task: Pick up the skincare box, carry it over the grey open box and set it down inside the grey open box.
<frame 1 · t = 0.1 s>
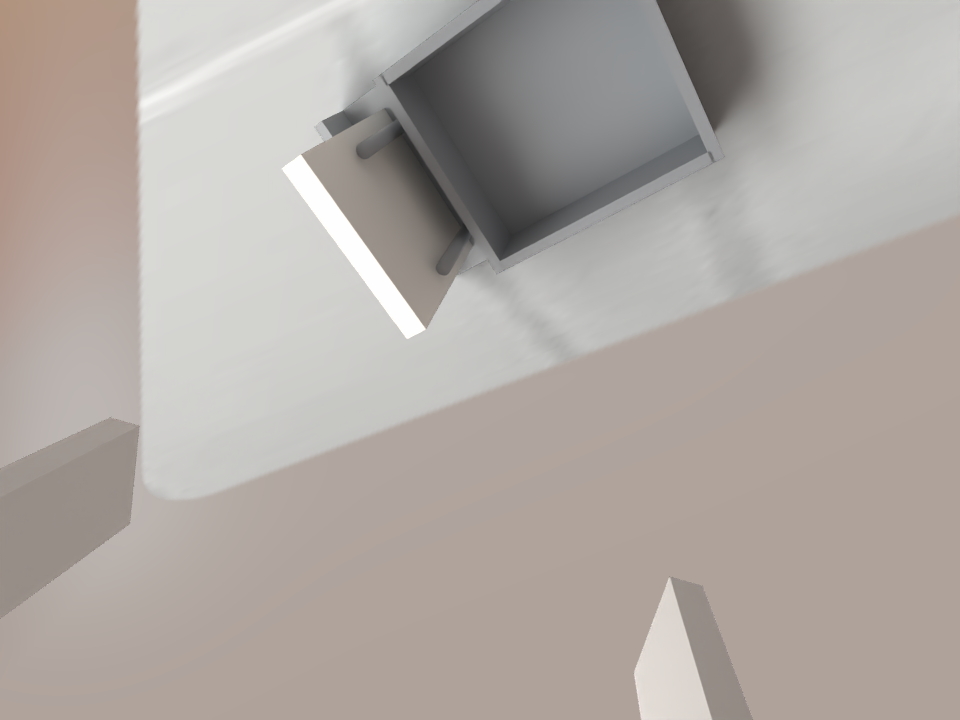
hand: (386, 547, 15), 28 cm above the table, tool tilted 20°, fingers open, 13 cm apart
grey open box: (518, 123, 36), on the table
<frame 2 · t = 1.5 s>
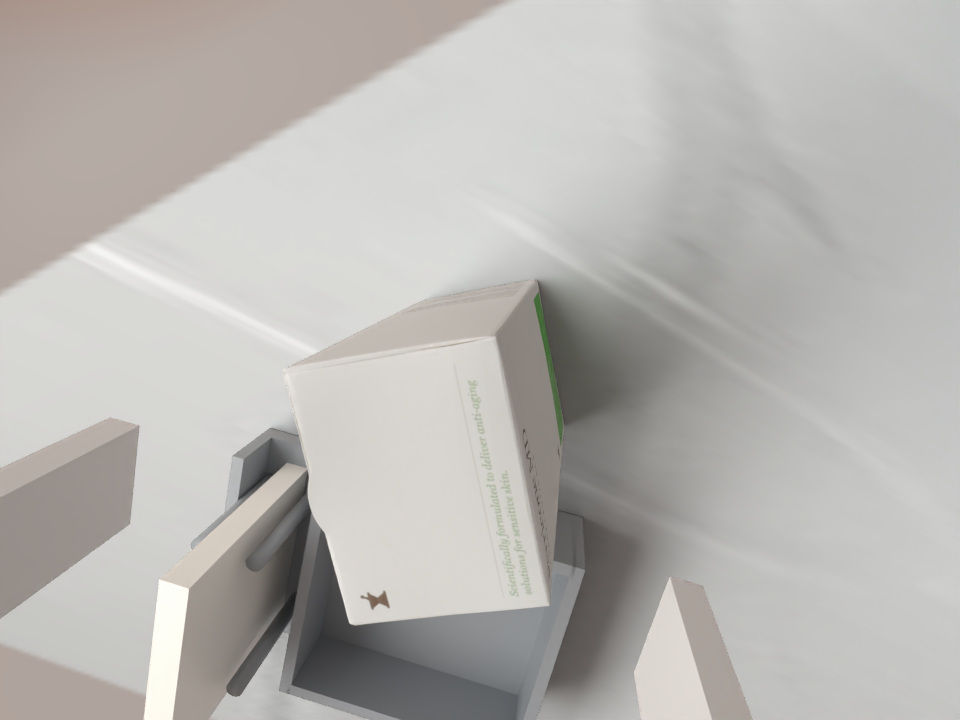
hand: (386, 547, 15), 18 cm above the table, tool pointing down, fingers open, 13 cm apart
grey open box: (401, 564, 35), on the table
skincare box: (489, 361, 32), on the table
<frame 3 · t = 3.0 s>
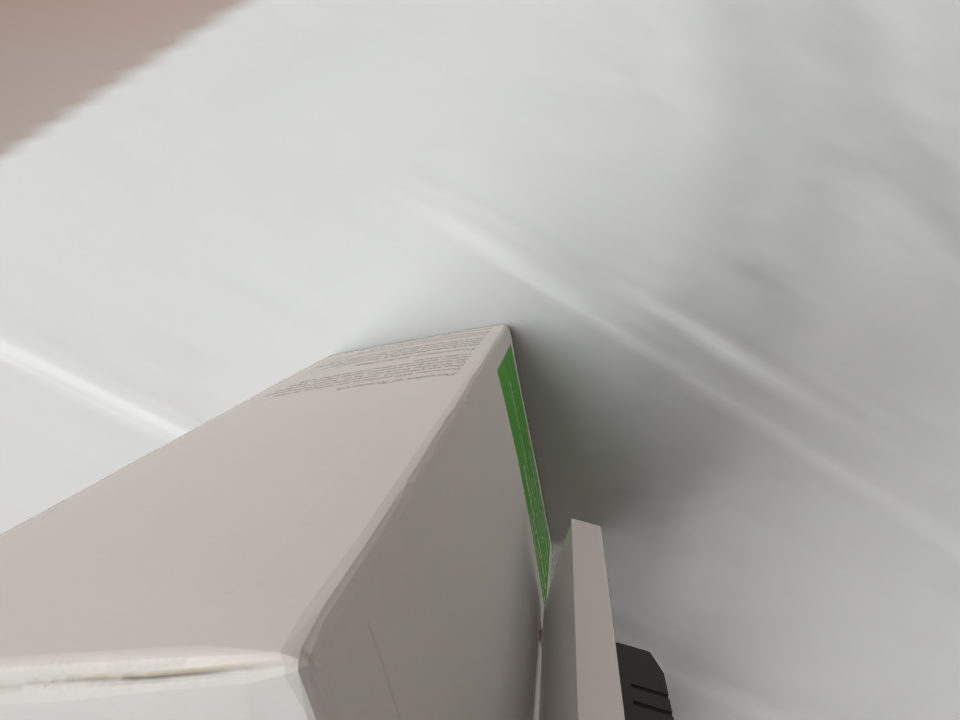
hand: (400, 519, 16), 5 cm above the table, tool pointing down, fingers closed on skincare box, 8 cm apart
skincare box: (436, 446, 21), on the table, touching gripper
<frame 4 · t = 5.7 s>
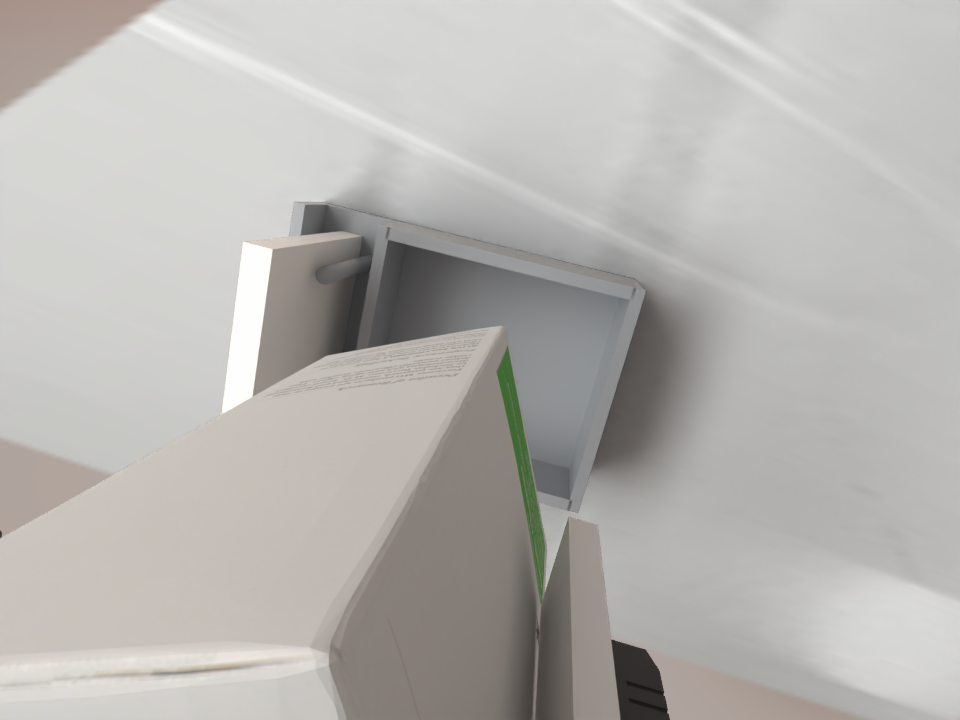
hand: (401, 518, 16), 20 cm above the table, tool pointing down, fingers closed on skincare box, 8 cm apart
grey open box: (453, 341, 36), on the table
skincare box: (432, 446, 21), point 15 cm above the table, touching gripper
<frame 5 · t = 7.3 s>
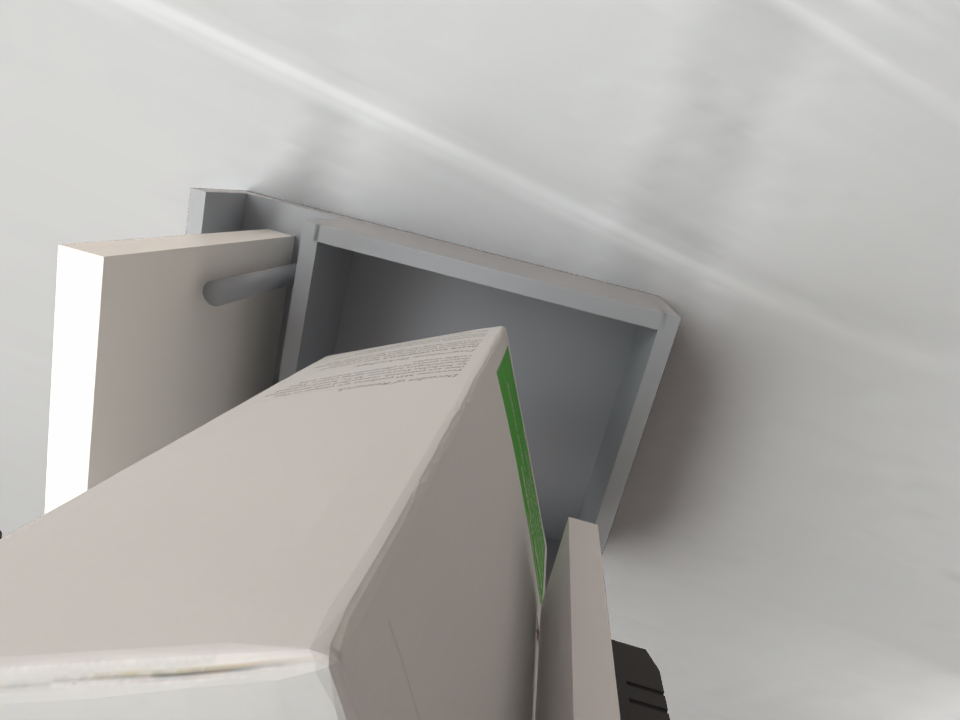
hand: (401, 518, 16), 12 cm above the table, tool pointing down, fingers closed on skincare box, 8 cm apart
grey open box: (417, 375, 27), on the table
skincare box: (432, 447, 21), point 6 cm above the table, touching gripper
when the fingers open (7 cm above the table, at t = 8.6 s): skincare box drops 1 cm, resting on grey open box.
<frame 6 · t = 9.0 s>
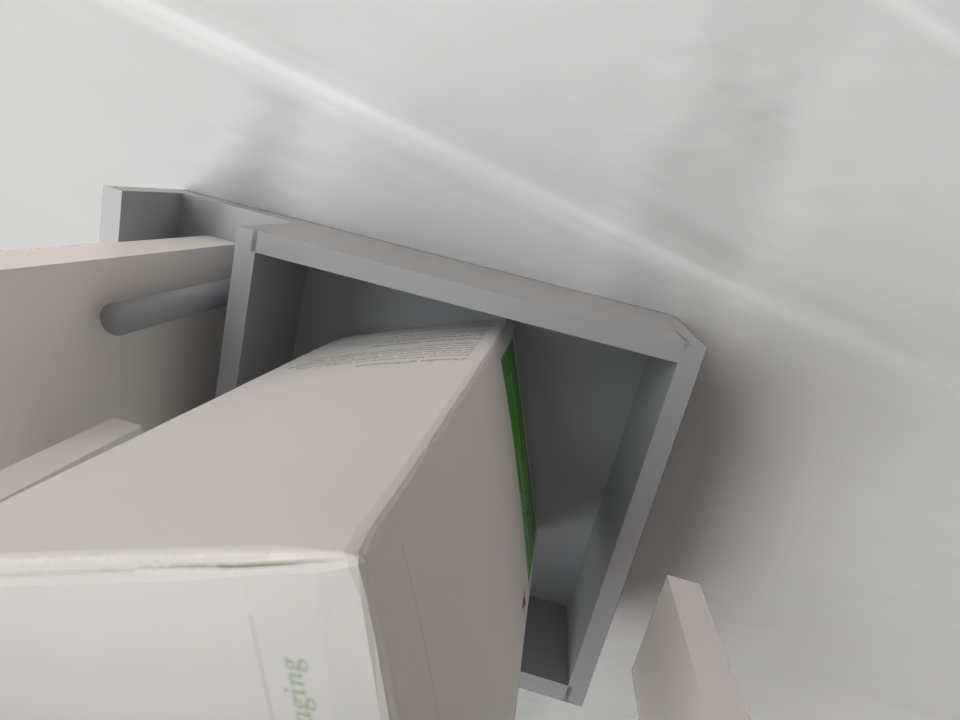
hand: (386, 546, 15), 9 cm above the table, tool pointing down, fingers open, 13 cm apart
grey open box: (388, 407, 23), on the table
skincare box: (436, 428, 22), point 1 cm above the table, touching grey open box
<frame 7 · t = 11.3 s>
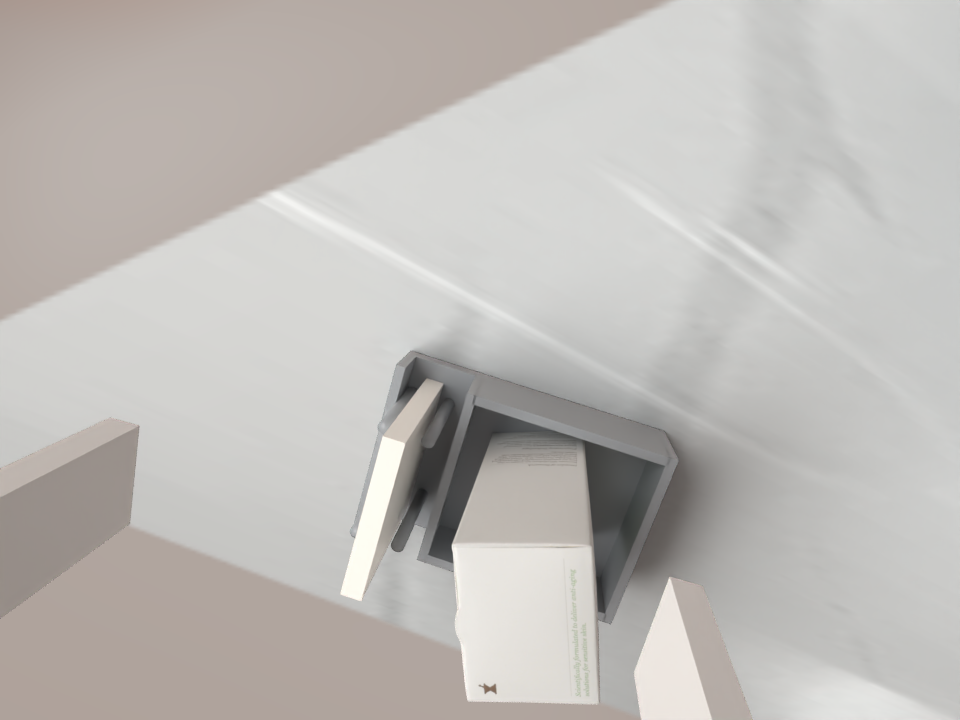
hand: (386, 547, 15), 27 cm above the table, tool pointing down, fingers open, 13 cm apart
grey open box: (510, 468, 43), on the table
skincare box: (537, 481, 42), point 1 cm above the table, touching grey open box
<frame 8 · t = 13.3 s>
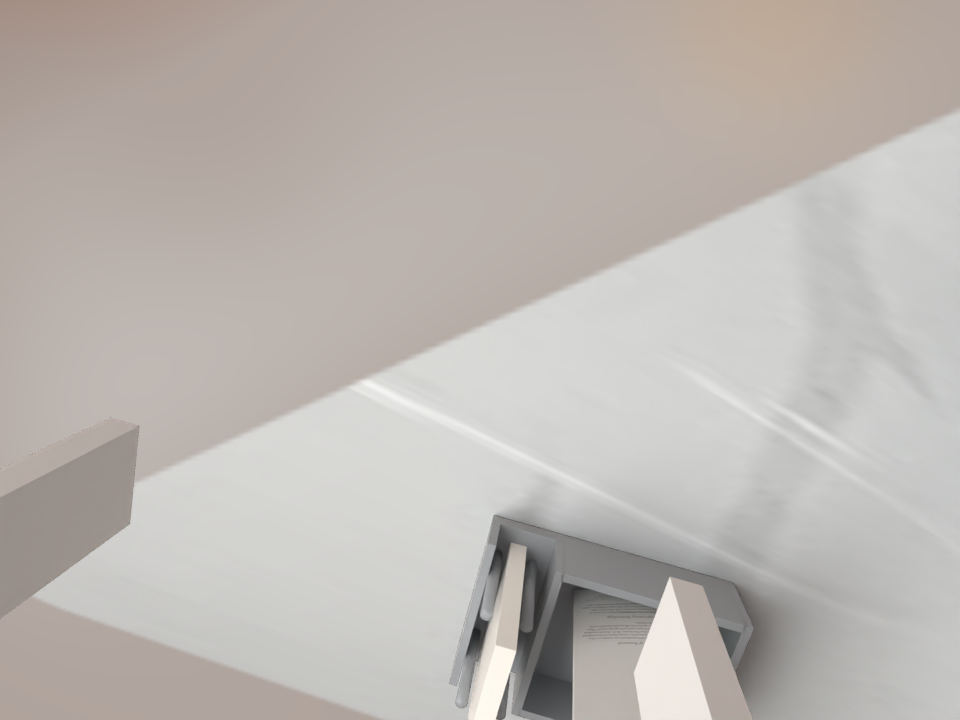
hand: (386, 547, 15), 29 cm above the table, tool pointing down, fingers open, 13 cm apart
grey open box: (589, 616, 47), on the table
skincare box: (616, 630, 46), point 1 cm above the table, touching grey open box
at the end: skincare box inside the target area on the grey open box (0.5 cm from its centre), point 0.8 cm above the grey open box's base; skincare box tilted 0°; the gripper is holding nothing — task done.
